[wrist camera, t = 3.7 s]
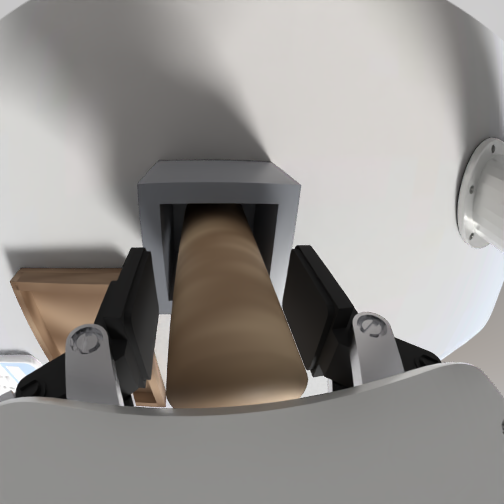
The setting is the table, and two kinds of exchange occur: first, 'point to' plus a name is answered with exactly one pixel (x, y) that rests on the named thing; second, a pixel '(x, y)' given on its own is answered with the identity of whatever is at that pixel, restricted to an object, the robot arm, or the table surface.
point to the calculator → (15, 370)
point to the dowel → (227, 318)
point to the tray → (72, 312)
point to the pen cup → (217, 191)
